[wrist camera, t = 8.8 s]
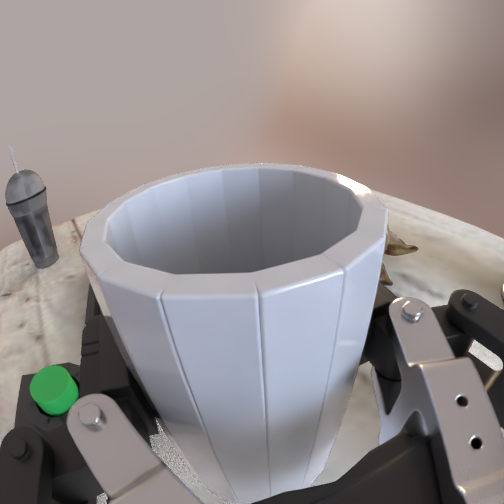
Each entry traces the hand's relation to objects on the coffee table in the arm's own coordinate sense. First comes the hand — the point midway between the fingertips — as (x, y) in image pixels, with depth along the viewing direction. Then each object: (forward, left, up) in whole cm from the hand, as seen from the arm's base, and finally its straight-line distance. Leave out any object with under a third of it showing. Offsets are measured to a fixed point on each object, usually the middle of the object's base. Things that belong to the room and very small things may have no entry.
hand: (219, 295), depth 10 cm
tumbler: (0, +2, -6) cm, 6 cm away
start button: (+12, -7, -11) cm, 18 cm away
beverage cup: (+21, -39, -15) cm, 47 cm away
